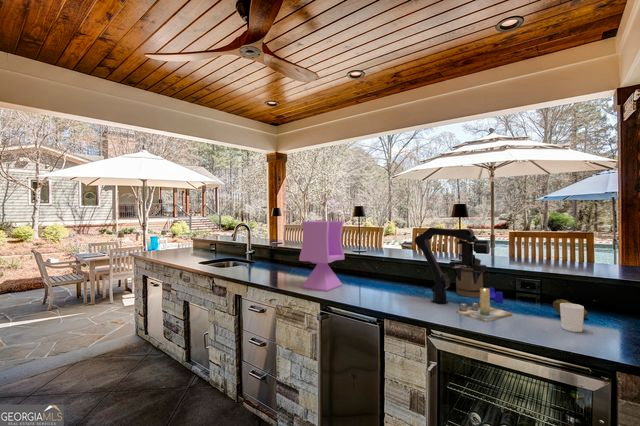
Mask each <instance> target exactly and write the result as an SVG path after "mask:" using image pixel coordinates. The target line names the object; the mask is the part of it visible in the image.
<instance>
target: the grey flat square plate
mask: <svg viewBox="0 0 640 426" xmlns="http://www.w3.org/2000/svg"><path fill="white" fill-rule="evenodd" d="M472 315H475V316H478V317H481V318H484V319H491V318H495V317H498V315H495V314H492V313H490V315H488V316H486V315H481V314H480V312H475V313H472Z"/></svg>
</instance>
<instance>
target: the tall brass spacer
mask: <svg viewBox="0 0 640 426" xmlns="http://www.w3.org/2000/svg"><path fill="white" fill-rule="evenodd" d="M488 288H489V287H483V288H480V297H479V299H480V314H481V315H486V316H488V315H490V307H491V303H490V301H491V300H490V289H488Z"/></svg>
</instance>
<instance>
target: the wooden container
mask: <svg viewBox="0 0 640 426" xmlns="http://www.w3.org/2000/svg"><path fill="white" fill-rule="evenodd" d="M464 266H466V265H464ZM469 267H470V266H469ZM472 271H474V270H473V269H472V268H465V267H463V268H462V270H461V281H459V280H458V278H457V276H456V275H455V276H456V279H455V283H456V284H455V288H456V289H455V293H456V294H457V295H458V296H462V297H468V298H480V288H484V281H483V280H484V278H483V277H484V276H483V275H484V274H483V273H484V272H482V273H481V274H480V276H479V279H478V281H477V284H474V279H473V272H472Z"/></svg>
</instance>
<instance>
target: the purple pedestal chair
mask: <svg viewBox="0 0 640 426" xmlns="http://www.w3.org/2000/svg"><path fill="white" fill-rule="evenodd" d="M344 223H345V221H344V220H307V221H305V220H303V221H301V225H302V231H303V232H302V233H303V241H302V246H301V250H300V254H299V257H298V258H299V259H298V260H299V262H300V261H301V262H308V263H313V264H316V265H315V267H314V268H313V270H312V271H311V272H310V274H309V276H307V278H306V280H305V281H304V282H303V284H302V286H301V287H302V288H301V289H307V290H313V291H320V292H325V293H328V292H331V291H332V290H335V289H338V288H340V287H341V288H342V286H343V283H342V282H341V280H340V279H339V278H338V276H337V275H336V274H335V272H334V270H332V268H331V267H330V266H329V264H330V263H332V262H335V261H343V260H345V259H346V258H345V256H346V255H345V252H344V249H343V245H342V232H343V226H344Z"/></svg>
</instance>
